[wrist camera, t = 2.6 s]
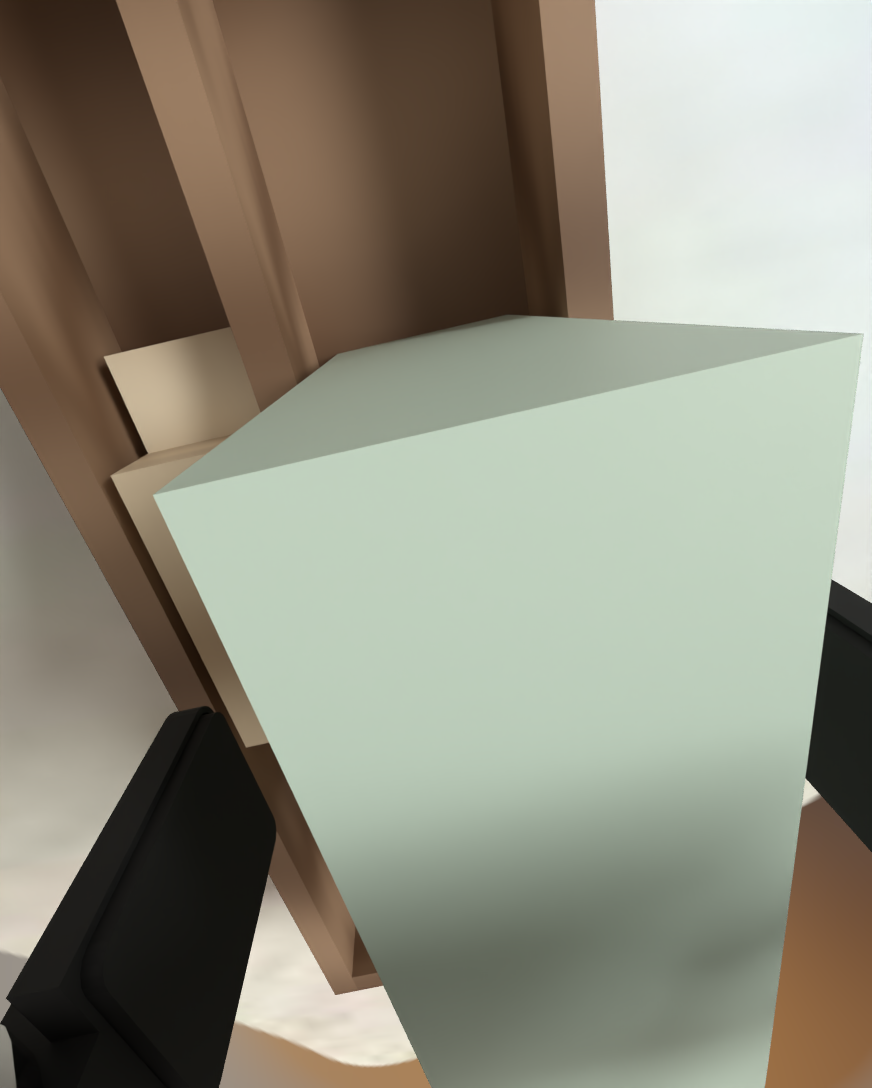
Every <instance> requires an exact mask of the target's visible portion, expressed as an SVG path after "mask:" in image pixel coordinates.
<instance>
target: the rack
mask: <svg viewBox="0 0 872 1088" xmlns="http://www.w3.org/2000/svg"><path fill="white" fill-rule="evenodd" d="M503 315H525V316H543V317H562V318H580V319H599V320H614V318H613V301H612V284H611V267H610V250H609V233H608V216H607V200H606V183H605V166H604V149H603V132H602V115H601V99H600V82H599V65H598V48H597V31H596V14H595V0H0V388H1V390H2V391H3V393H4V395H5V397H6V399H7V400H8V402H9V404H10V406H11V408H12V410H13V411H14V413H15V415H16V417H17V419H18V420H19V422H20V424H21V426H22V428H23V429H24V431H25V433H26V435H27V437H28V439H29V440H30V442H31V444H32V446H33V448H34V449H35V451H36V453H37V455H38V457H39V458H40V460H41V462H42V464H43V466H44V468H45V469H46V471H47V473H48V475H49V477H50V478H51V480H52V482H53V484H54V486H55V487H56V489H57V491H58V493H59V495H60V497H61V498H62V500H63V502H64V504H65V506H66V507H67V509H68V511H69V513H70V515H71V516H72V518H73V520H74V522H75V524H76V526H77V527H78V529H79V531H80V533H81V535H82V536H83V538H84V540H85V542H86V544H87V545H88V547H89V549H90V551H91V553H92V555H93V556H94V558H95V560H96V562H97V564H98V565H99V567H100V569H101V571H102V573H103V574H104V576H105V578H106V580H107V582H108V584H109V585H110V587H111V589H112V591H113V593H114V594H115V596H116V598H117V600H118V602H119V603H120V605H121V607H122V609H123V611H124V613H125V614H126V616H127V618H128V620H129V622H130V623H131V625H132V627H133V629H134V631H135V633H136V634H137V636H138V638H139V640H140V642H141V643H142V645H143V647H144V649H145V651H146V652H147V654H148V656H149V658H150V660H151V662H152V663H153V665H154V667H155V669H156V671H157V672H158V674H159V676H160V678H161V680H162V681H163V683H164V685H165V687H166V689H167V691H168V692H169V694H170V696H171V698H172V700H173V701H174V703H175V705H176V707H177V709H178V710H179V711H183V710H187V709H192V708H196V707H201V706H208V707H210V708H211V709H212V710H213V711H214V712H221V713H222V714H223V715H224V717H225V718H226V721H227V723H228V725H229V727H230V729H231V731H232V733H233V735H234V737H235V739H236V741H237V743H238V745H239V747H240V749H241V751H242V753H243V755H244V757H245V759H246V761H247V763H248V765H249V767H250V769H251V771H252V773H253V775H254V777H255V779H256V781H257V783H258V786H259V788H260V790H261V792H262V794H263V796H264V798H265V800H266V802H267V804H268V806H269V808H270V810H271V812H272V814H273V816H274V819H275V823H276V842H275V846H274V851H273V855H272V859H271V864H270V868H269V872H268V874H269V875H270V877H271V879H272V881H273V883H274V884H275V886H276V888H277V890H278V892H279V894H280V895H281V897H282V899H283V901H284V903H285V904H286V906H287V908H288V910H289V912H290V914H291V915H292V917H293V919H294V921H295V923H296V924H297V926H298V928H299V930H300V932H301V933H302V935H303V937H304V939H305V941H306V943H307V944H308V946H309V948H310V950H311V952H312V953H313V955H314V957H315V959H316V961H317V962H318V964H319V966H320V968H321V970H322V972H323V973H324V975H325V977H326V979H327V981H328V982H329V984H330V986H331V988H332V990H333V991H334V993H335V995H338V994H343V993H348V992H353V991H358V990H363V989H368V988H373V987H378V986H383V983H382V981H381V979H380V977H379V975H378V973H377V971H376V969H375V966H374V964H373V962H372V960H371V958H370V956H369V954H368V952H367V949H366V947H365V945H364V943H363V941H362V939H361V937H360V935H359V932H358V930H357V928H356V926H355V924H354V922H353V920H352V918H351V915H350V913H349V911H348V909H347V907H346V905H345V903H344V901H343V898H342V896H341V894H340V892H339V890H338V888H337V886H336V884H335V881H334V879H333V877H332V875H331V873H330V871H329V869H328V867H327V864H326V862H325V860H324V858H323V856H322V854H321V852H320V850H319V847H318V845H317V843H316V841H315V839H314V837H313V835H312V833H311V830H310V828H309V826H308V824H307V822H306V820H305V818H304V816H303V813H302V811H301V809H300V807H299V805H298V803H297V801H296V799H295V796H294V794H293V792H292V790H291V788H290V786H289V784H288V782H287V779H286V777H285V775H284V773H283V771H282V769H281V767H280V765H279V762H278V760H277V758H276V756H275V754H274V752H273V750H272V748H271V745H270V743H265V744H260V745H256V746H251V747H246V746H245V744H244V742H243V740H242V738H241V736H240V734H239V732H238V730H237V728H236V726H235V724H234V722H233V720H232V718H231V716H230V714H229V712H228V710H227V708H226V706H225V704H224V702H223V700H222V698H221V696H220V694H219V692H218V690H217V688H216V686H215V684H214V682H213V680H212V678H211V676H210V674H209V672H208V670H207V668H206V666H205V664H204V662H203V660H202V658H201V656H200V654H199V652H198V650H197V648H196V646H195V644H194V642H193V640H192V638H191V636H190V634H189V632H188V630H187V628H186V626H185V624H184V622H183V620H182V618H181V616H180V614H179V612H178V610H177V608H176V606H175V604H174V602H173V600H172V598H171V596H170V594H169V592H168V590H167V588H166V586H165V584H164V582H163V580H162V578H161V576H160V574H159V572H158V570H157V568H156V566H155V564H154V562H153V560H152V558H151V556H150V554H149V552H148V550H147V548H146V546H145V544H144V542H143V540H142V538H141V536H140V534H139V532H138V530H137V528H136V526H135V524H134V522H133V520H132V518H131V516H130V514H129V512H128V510H127V508H126V506H125V504H124V502H123V500H122V498H121V496H120V494H119V492H118V490H117V488H116V486H115V484H114V482H113V480H112V478H111V475H112V474H114V473H116V472H117V471H119V470H121V469H123V468H124V467H126V466H128V465H129V464H131V463H133V462H135V461H136V460H138V459H140V458H141V457H143V456H145V455H147V454H148V452H147V450H146V448H145V446H144V444H143V441H142V439H141V437H140V435H139V433H138V431H137V428H136V426H135V424H134V422H133V420H132V417H131V415H130V413H129V411H128V409H127V407H126V404H125V402H124V400H123V398H122V396H121V393H120V391H119V389H118V387H117V385H116V383H115V380H114V378H113V376H112V374H111V372H110V369H109V367H108V365H107V363H106V361H105V359H104V356H109V355H113V354H117V353H121V352H126V351H130V350H134V349H138V348H143V347H147V346H151V345H155V344H160V343H164V342H168V341H173V340H177V339H181V338H185V337H190V336H194V335H198V334H202V333H207V332H211V331H215V330H219V329H224V328H228V327H231V330H232V333H233V335H234V338H235V341H236V344H237V347H238V350H239V352H240V355H241V358H242V361H243V364H244V367H245V370H246V372H247V375H248V378H249V381H250V384H251V387H252V390H253V392H254V395H255V398H256V401H257V404H258V407H259V409H260V412H262V411H264V410H265V409H266V408H268V407H269V406H270V405H272V404H273V403H274V402H275V401H277V400H278V399H279V398H281V397H282V396H283V395H285V394H286V393H287V392H289V391H290V390H291V389H293V388H294V387H295V386H296V385H298V384H299V383H300V382H302V381H303V380H304V379H306V378H307V377H308V376H310V375H311V374H312V373H314V372H315V371H316V370H317V369H319V368H320V367H321V366H323V365H324V364H325V363H327V362H328V361H329V360H331V359H332V358H333V357H334V356H336V355H337V354H339V353H344V352H348V351H352V350H357V349H361V348H365V347H369V346H374V345H378V344H382V343H387V342H391V341H395V340H400V339H404V338H408V337H413V336H417V335H421V334H426V333H430V332H434V331H439V330H443V329H447V328H451V327H456V326H460V325H464V324H469V323H473V322H477V321H482V320H486V319H490V318H495V317H499V316H503Z"/></svg>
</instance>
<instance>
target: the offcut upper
mask: <svg viewBox="0 0 872 1088" xmlns="http://www.w3.org/2000/svg"><path fill="white" fill-rule="evenodd" d="M230 436H231V435H227V436H223V437H219V438H214V439H210V440H206V441H201V442H197V443H192V444H188V445H184V446H179V447H175V448H171V449H166V450H162V451H157V452H153V453H149V454H147V455H145V456H143V457H141V458H140V459H138V460H136V461H135V462H133V463H131V464H129V465H128V466H126V467H124V468H123V469H121V470H119V471H117V472H116V473H114V474H112V475H111V478H112V480H113V482H114V484H115V486H116V488H117V490H118V492H119V494H120V496H121V498H122V500H123V502H124V504H125V506H126V508H127V510H128V512H129V514H130V516H131V518H132V520H133V522H134V524H135V526H136V528H137V530H138V532H139V534H140V536H141V538H142V540H143V542H144V544H145V546H146V548H147V550H148V552H149V554H150V556H151V558H152V560H153V562H154V564H155V566H156V568H157V570H158V572H159V574H160V576H161V578H162V580H163V582H164V584H165V586H166V588H167V590H168V592H169V594H170V596H171V598H172V600H173V602H174V604H175V606H176V608H177V610H178V612H179V614H180V616H181V618H182V620H183V622H184V624H185V626H186V628H187V630H188V632H189V634H190V636H191V638H192V640H193V642H194V644H195V646H196V648H197V650H198V652H199V654H200V656H201V658H202V660H203V662H204V664H205V666H206V668H207V670H208V672H209V674H210V676H211V678H212V680H213V682H214V684H215V686H216V688H217V690H218V692H219V694H220V696H221V698H222V700H223V702H224V704H225V706H226V708H227V710H228V712H229V714H230V716H231V718H232V720H233V722H234V724H235V726H236V728H237V730H238V732H239V734H240V736H241V738H242V740H243V742H244V744H245V746H246V747H251V746H256V745H260V744H265V743H269V741H268V739H267V737H266V735H265V733H264V731H263V728H262V726H261V724H260V722H259V720H258V718H257V716H256V714H255V711H254V709H253V707H252V705H251V703H250V701H249V699H248V697H247V694H246V692H245V690H244V688H243V686H242V684H241V682H240V680H239V677H238V675H237V673H236V671H235V669H234V667H233V665H232V662H231V660H230V658H229V656H228V654H227V652H226V650H225V648H224V645H223V643H222V641H221V639H220V637H219V635H218V633H217V631H216V628H215V626H214V624H213V622H212V620H211V618H210V616H209V614H208V611H207V609H206V607H205V605H204V603H203V601H202V599H201V597H200V594H199V592H198V590H197V588H196V586H195V584H194V582H193V580H192V577H191V575H190V573H189V571H188V569H187V567H186V565H185V563H184V560H183V558H182V556H181V554H180V552H179V550H178V548H177V546H176V543H175V541H174V539H173V537H172V535H171V533H170V531H169V529H168V526H167V524H166V522H165V520H164V518H163V516H162V514H161V512H160V509H159V507H158V505H157V503H156V501H155V499H154V497H153V494H155V493H156V492H157V491H159V490H160V489H161V488H163V487H164V486H165V485H167V484H168V483H169V482H170V481H172V480H173V479H174V478H176V477H177V476H178V475H180V474H181V473H182V472H184V471H185V470H186V469H188V468H189V467H190V466H191V465H193V464H194V463H195V462H197V461H198V460H199V459H201V458H202V457H203V456H205V455H206V454H207V453H209V452H210V451H211V450H212V449H214V448H215V447H216V446H218V445H219V444H220V443H222V442H223V441H224V440H226V439H227V438H228V437H230Z"/></svg>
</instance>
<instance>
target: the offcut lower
mask: <svg viewBox="0 0 872 1088" xmlns="http://www.w3.org/2000/svg"><path fill="white" fill-rule="evenodd" d="M104 359H105V361H106V363H107V365H108V367H109V369H110V372H111V374H112V376H113V378H114V380H115V383H116V385H117V387H118V389H119V391H120V393H121V396H122V398H123V400H124V402H125V404H126V407H127V409H128V411H129V413H130V415H131V417H132V420H133V422H134V424H135V426H136V428H137V431H138V433H139V435H140V437H141V439H142V441H143V444H144V446H145V448H146V450H147V452H148V454H149V453H153V452H157V451H162V450H166V449H171V448H175V447H179V446H184V445H188V444H192V443H197V442H201V441H206V440H210V439H214V438H219V437H223V436H227V435H232V434H233V433H235V432H236V431H237V430H239V429H240V428H241V427H243V426H244V425H245V424H247V423H248V422H249V421H251V420H252V419H253V418H254V417H256V416H257V415H258V414H260V413H261V412H260V409H259V407H258V404H257V401H256V398H255V395H254V392H253V390H252V387H251V384H250V381H249V378H248V375H247V372H246V370H245V367H244V364H243V361H242V358H241V355H240V352H239V350H238V347H237V344H236V341H235V338H234V335H233V333H232V330H231V327H228V328H224V329H219V330H215V331H211V332H207V333H202V334H198V335H194V336H190V337H185V338H181V339H177V340H173V341H168V342H164V343H160V344H155V345H151V346H147V347H143V348H138V349H134V350H130V351H126V352H121V353H117V354H113V355H109V356H104Z"/></svg>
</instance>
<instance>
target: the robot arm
mask: <svg viewBox="0 0 872 1088" xmlns="http://www.w3.org/2000/svg"><path fill="white" fill-rule="evenodd" d="M805 778H806V779H807V780H808V781H809V782H810V784H811V785H812V786H813V787H814V788H815V789H816V790H817V791H818V792H819V794H820V795H821V796H822V797H823V798H824V799H825V800H826V801H827V803H829V805H830V806H831V807H832V808H833V809H834V810H835V812H836V813H837V814H838V815H839V816H840V817H841V818H842V819H843V821H844V822H845V823H846V824H847V825H848V826H849V827H850V828H851V829H852V830H853V832H854V833H855V834H856V835H857V836H858V837H859V838H860V840H861V841H862V842H863V843H864V844H865V845H866V846H867V847H868V849H869V850H870V851H871V852H872V603H870V602H869V601H867V600H865V599H864V598H862V597H860V596H859V595H857V594H855V593H853V592H852V591H850V590H848V589H847V588H845V587H843V586H842V585H840V584H838V583H837V582H835V581H833V580H832V579H831V586H830V594H829V601H828V609H827V616H826V624H825V632H824V639H823V647H822V655H821V662H820V670H819V678H818V685H817V693H816V700H815V708H814V716H813V723H812V731H811V739H810V746H809V754H808V761H807V769H806V777H805ZM275 842H276V823H275V819H274V816H273V814H272V812H271V810H270V808H269V806H268V804H267V802H266V800H265V798H264V796H263V794H262V792H261V790H260V788H259V786H258V783H257V781H256V779H255V777H254V775H253V773H252V771H251V769H250V767H249V765H248V763H247V761H246V759H245V757H244V755H243V753H242V751H241V749H240V747H239V745H238V743H237V741H236V739H235V737H234V735H233V733H232V731H231V729H230V727H229V725H228V723H227V721H226V718H225V717H224V715H223V714H222V713H221V712H214V711H213V710H212V709H211V708H210V707H208V706H201V707H196V708H192V709H187V710H183V711H178V712H174V713H172V714H170V715H169V716H168V717H167V719H166V720H165V722H164V723H163V725H162V727H161V729H160V730H159V732H158V734H157V736H156V737H155V739H154V741H153V743H152V744H151V746H150V748H149V750H148V751H147V753H146V755H145V757H144V758H143V760H142V762H141V764H140V765H139V767H138V769H137V771H136V772H135V774H134V776H133V778H132V779H131V781H130V783H129V785H128V786H127V788H126V790H125V792H124V793H123V795H122V797H121V799H120V800H119V802H118V804H117V805H116V807H115V809H114V811H113V812H112V814H111V816H110V818H109V819H108V821H107V823H106V825H105V826H104V828H103V830H102V832H101V833H100V835H99V837H98V839H97V840H96V842H95V844H94V846H93V847H92V849H91V851H90V853H89V854H88V856H87V858H86V860H85V861H84V863H83V865H82V867H81V868H80V870H79V872H78V874H77V875H76V877H75V879H74V880H73V882H72V884H71V886H70V887H69V889H68V891H67V893H66V894H65V896H64V898H63V900H62V901H61V903H60V905H59V907H58V908H57V910H56V912H55V914H54V915H53V917H52V919H51V921H50V922H49V924H48V926H47V928H46V929H45V931H44V933H43V935H42V936H41V938H40V940H39V942H38V943H37V945H36V947H35V949H34V950H33V952H32V954H31V956H30V957H29V959H28V961H27V963H26V964H25V966H24V968H23V969H22V972H21V973H20V975H19V976H18V978H17V980H16V982H15V983H14V985H13V987H12V989H11V990H10V992H9V994H8V996H7V997H6V999H7V1000H8V1001H9V1002H10V1003H11V1005H10V1007H9V1009H8V1011H7V1012H6V1014H5V1016H4V1018H3V1020H2V1021H1V1023H0V1088H219V1085H220V1081H221V1077H222V1073H223V1069H224V1064H225V1060H226V1055H227V1051H228V1047H229V1043H230V1038H231V1034H232V1029H233V1025H234V1021H235V1016H236V1012H237V1008H238V1003H239V999H240V995H241V990H242V986H243V981H244V977H245V973H246V968H247V964H248V960H249V955H250V951H251V947H252V942H253V938H254V934H255V929H256V925H257V920H258V916H259V912H260V907H261V903H262V899H263V894H264V890H265V886H266V881H267V877H268V872H269V868H270V864H271V859H272V855H273V851H274V846H275Z"/></svg>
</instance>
